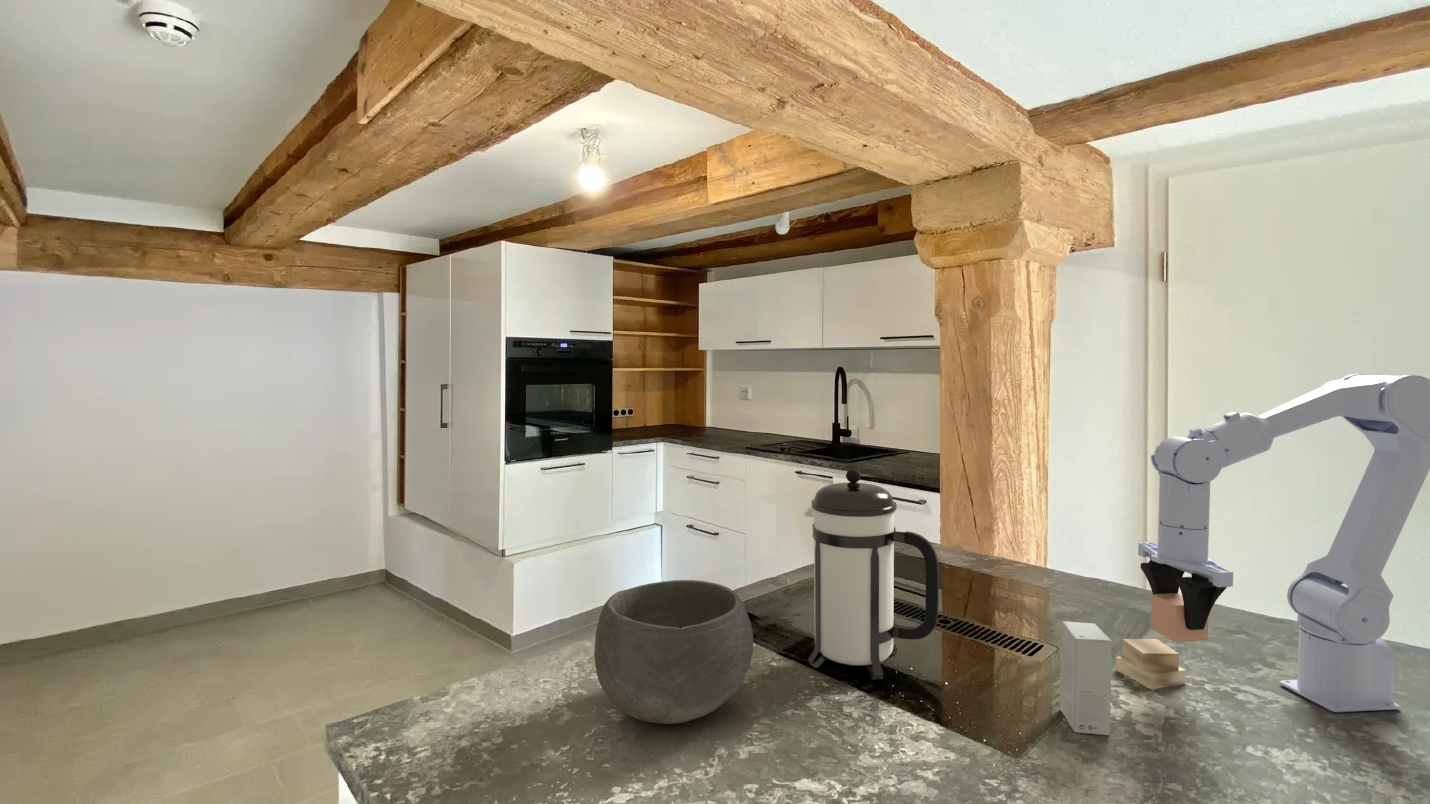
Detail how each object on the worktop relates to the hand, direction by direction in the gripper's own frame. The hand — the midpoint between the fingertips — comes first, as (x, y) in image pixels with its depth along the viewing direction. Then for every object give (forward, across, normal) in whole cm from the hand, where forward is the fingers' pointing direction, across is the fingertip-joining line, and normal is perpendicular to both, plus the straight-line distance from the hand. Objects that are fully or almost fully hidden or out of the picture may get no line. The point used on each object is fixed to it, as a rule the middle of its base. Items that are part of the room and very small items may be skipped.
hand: (1180, 621), depth 93 cm
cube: (+2, 0, 0) cm, 2 cm away
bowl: (+10, -2, -70) cm, 71 cm away
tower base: (+10, -4, -1) cm, 11 cm away
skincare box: (+10, +6, -18) cm, 22 cm away
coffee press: (+10, -14, -41) cm, 44 cm away
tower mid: (+8, -4, -1) cm, 9 cm away
